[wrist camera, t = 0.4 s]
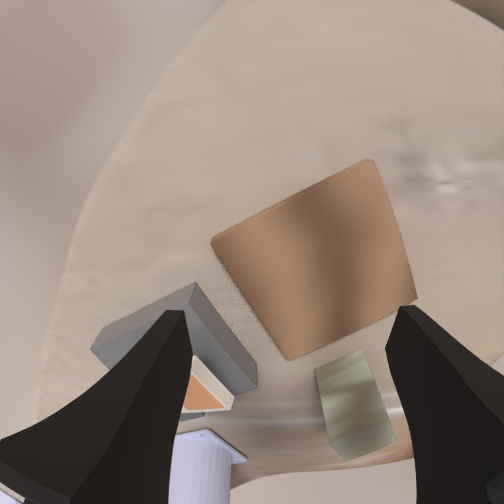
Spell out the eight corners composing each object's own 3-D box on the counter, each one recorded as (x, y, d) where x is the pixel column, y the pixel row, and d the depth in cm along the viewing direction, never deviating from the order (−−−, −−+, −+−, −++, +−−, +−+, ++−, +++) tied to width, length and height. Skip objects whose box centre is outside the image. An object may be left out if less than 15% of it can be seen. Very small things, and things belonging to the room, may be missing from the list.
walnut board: (286, 351, 21) (288, 360, 20) (212, 237, 17) (210, 243, 16) (411, 291, 19) (417, 298, 18) (367, 158, 15) (374, 160, 14)
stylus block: (330, 394, 23) (345, 461, 17) (314, 369, 22) (329, 443, 15) (372, 376, 22) (397, 441, 16) (361, 348, 21) (389, 419, 14)
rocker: (147, 403, 20) (142, 414, 19) (112, 369, 18) (105, 380, 17) (234, 396, 16) (230, 411, 16) (195, 355, 15) (189, 370, 14)
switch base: (164, 393, 23) (153, 434, 19) (102, 328, 20) (78, 367, 16) (256, 363, 21) (257, 410, 17) (195, 281, 18) (181, 325, 14)
